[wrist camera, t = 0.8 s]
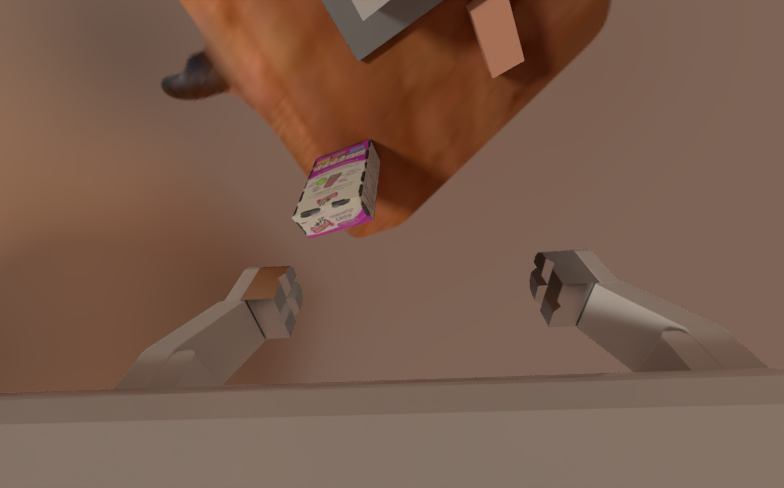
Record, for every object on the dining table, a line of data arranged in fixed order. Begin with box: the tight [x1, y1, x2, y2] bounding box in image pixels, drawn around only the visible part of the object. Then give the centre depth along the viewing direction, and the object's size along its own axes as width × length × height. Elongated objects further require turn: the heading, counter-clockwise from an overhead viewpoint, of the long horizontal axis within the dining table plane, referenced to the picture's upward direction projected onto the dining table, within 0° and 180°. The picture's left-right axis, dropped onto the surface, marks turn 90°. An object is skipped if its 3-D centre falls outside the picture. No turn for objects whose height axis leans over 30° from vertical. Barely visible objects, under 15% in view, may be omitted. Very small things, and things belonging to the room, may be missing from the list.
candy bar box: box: [292, 139, 380, 239], centre depth 48 cm, size 11×5×16 cm, turn 112°
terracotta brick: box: [466, 0, 525, 78], centre depth 37 cm, size 4×8×5 cm, turn 31°
